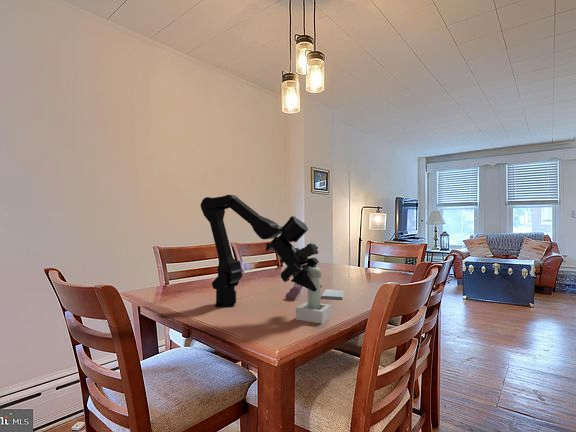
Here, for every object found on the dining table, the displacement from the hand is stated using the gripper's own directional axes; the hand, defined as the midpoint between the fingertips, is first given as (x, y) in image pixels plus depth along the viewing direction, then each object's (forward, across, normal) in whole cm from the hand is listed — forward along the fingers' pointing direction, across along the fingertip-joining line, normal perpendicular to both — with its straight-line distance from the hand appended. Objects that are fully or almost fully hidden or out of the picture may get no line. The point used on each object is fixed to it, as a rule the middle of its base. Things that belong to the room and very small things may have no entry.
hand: (318, 289), depth 100 cm
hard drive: (+3, +31, +10) cm, 33 cm away
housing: (+5, 0, +7) cm, 9 cm away
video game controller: (-6, +22, +19) cm, 30 cm away
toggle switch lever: (+4, 0, +6) cm, 7 cm away
